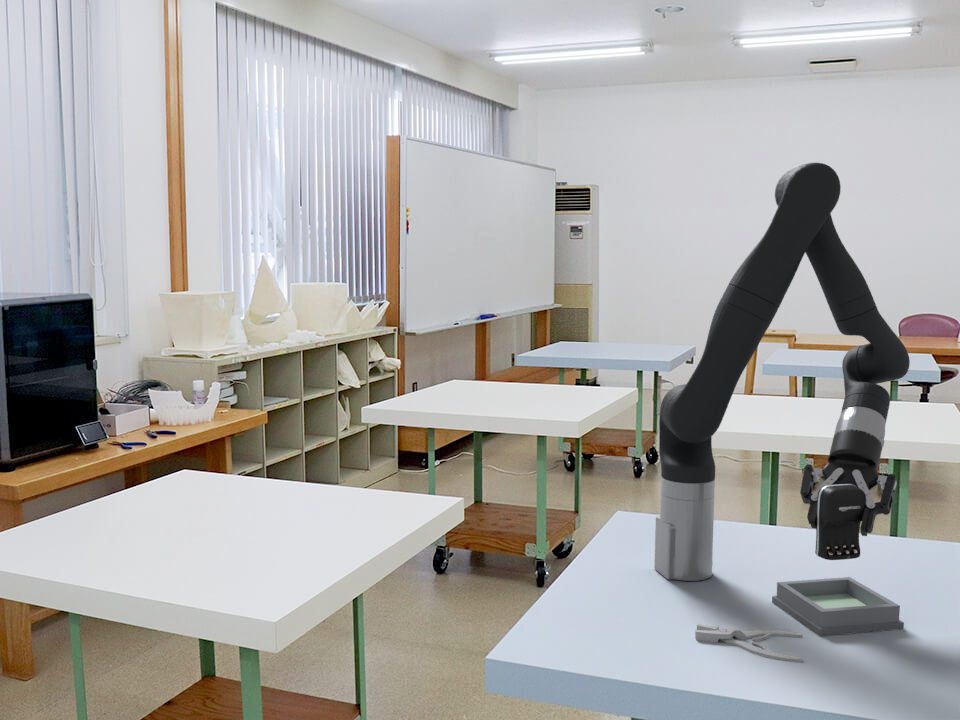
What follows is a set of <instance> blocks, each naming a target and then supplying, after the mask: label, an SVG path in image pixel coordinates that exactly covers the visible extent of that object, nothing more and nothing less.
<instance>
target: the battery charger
mask: <svg viewBox="0 0 960 720" xmlns="http://www.w3.org/2000/svg"><path fill="white" fill-rule="evenodd" d="M864 509H866V495H865V493H864V491H863V490H862V489H860V488H858V487H856V486H855V485H852V484H835V485H826V486H823V487H822V488H821V489H820V490H819V492H818V496H817V508H816V529H815V531H816V532H815V534H816V535H815V537H816V538H815V550H814V551H815V555H816V556H817V557H818V558H821V559H824V560H827V561H839V560H841V561H842V560H851V559H858V558H860V557H861V548H860V528H861V523H862V518H863V513H864Z"/></svg>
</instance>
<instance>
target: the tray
mask: <svg viewBox="0 0 960 720" xmlns="http://www.w3.org/2000/svg"><path fill="white" fill-rule="evenodd" d="M771 602H772V603H771V604H773V605H775V606H777V608H779V609H781V610H782V611H783V612H785V613H786V614H788V615H789V616H790V617H791V618H793V619H795V620H796V621H797V622H799V623H800V624H802V625H803V626H804V627H806V628H807V629H808V630H810V631H812V632H813V633H815V634H816V635H817V636H818V637H822V636H823V637H824V636H825V637H826V636H838V634H839V635H849V633H851V634H860V633H861V632H863V633H871V632H870V631H875V632H882V631H881V630H887V631H893V630H892V629H898V630H904V629H905V628H904V627H905V622H904V621H902V620H901V619H900V610H901V609H900V608H901V606H900V605H899V604H898V603H896V602H894V601H892V600H891V599H889V598H888V597H886V596H884V595H882V594H880V593H879V592H877V591H875V590H873V589H872V588H870V587H868V586H866V585H864V584H862V582H859V581H857V580H856V579H854V578H852V577H850V576H847V577H845V576H844V577H833V578H818V579H806V580H805V579H804V580H790V581H789V580H788V581H777V583H776V595H772V596H771Z"/></svg>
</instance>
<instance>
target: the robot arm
mask: <svg viewBox="0 0 960 720" xmlns="http://www.w3.org/2000/svg"><path fill="white" fill-rule="evenodd" d="M840 195H841V182H840V178H839V176H838V174H837V172H836V171H835V169H833V167H831V166H830V165H828V164H826V163H822V162H808V163H805V164H804V163H803V164H801V165H799V166H797V167H794V168H792V169H789V170H788V171H786V172H785V173H784V174H783V175H782V176H780V178H779V179H778V181H777V183H776V186H775V191H774V199H775V203H776V205H777V209H776V211H775V213H774V215H773V217H772V220H771V222H770V223H769V226H768V228H767V230H766V231H765V233H764V235H763V236H762V237H761V239H760V240H759V241H758V243H757V244H756V246H754V248H753V249H752V250H751V252H750V253H749V254H748V255H747V257H746V258H745V259H744V261H743V262H742V263H741V264H740V266H738V268H737V270H736V271H735V273H734V275H733V276H732V278H731V279H730V280H729V282H728V284H727V287H726V288H725V290H724V292H723V295H722V296H721V298H720V300H719V302H718V304H717V306H716V309H715V311H714V313H713V316H712V318H711V319H712V320H711V323H710V326H709V329H708V334H707V337H706V338H707V339H706V343H705V347H704V349H703V353H702V355H701V358H700V361H699V362H698V364H697V365H696V368H695V370H694V371H693V372H692V375H691V376H690V378H689V379H688V381H687V382H686V384H684V383H683V384H680V385H676V386H674V387H672V388H671V389H670V390H669V391H667V392H666V394H665V395H664V397H663V399H662V401H661V404H660V407H659V408H660V409H659V423H658V425H659V431H658V434H659V437H658V438H659V439H658V441H659V444H658V447H659V448H658V449H659V451H658V453H659V460H660V469H661V470H660V471H661V472H660V476H661V477H660V507H659V510H660V512H659V516H656V517H655V529H654V530H655V533H654V534H655V537H654V570H656V571H657V572H658V573H659V574H661V575H662V576H663V577H664V578H665V579H666V580H678V581H686V582H693V581H694V582H698V581H704V580H707V579H709V578H711V577H712V575H713V565H714V564H713V554H714V553H713V552H714V550H713V549H714V546H713V545H714V521H715V518H714V517H715V492H716V491H715V489H716V463H715V460H714V455H713V447H712V436H714V434H715V433H716V432H717V431H718V430H719V428H720V426H721V424H722V421H723V420H724V417H725V414H726V411H727V409H728V406H729V404H730V401H731V399H732V396H733V395H734V391H735V389H736V387H737V384H738V382H739V380H740V377H741V376H742V374H743V372H744V371H745V369H746V368H747V366H748V364H749V362H750V361H751V359H752V357H753V356H754V354H755V352H756V350H757V348H758V346H759V344H760V343H761V341H762V339H763V337H764V336H765V334H766V333H767V330H768V329H769V327H770V325H771V323H772V322H773V320H774V319H775V316H776V314H777V313H778V310H779V308H780V306H781V305H782V302H783V300H784V297H785V295H786V294H787V293H788V289H789V287H791V283H792V282H793V280H794V278H795V275H796V273H797V271H798V269H799V267H800V264H801V262H802V260H803V257H804V256H805V254H806V256H807V259H808V261H809V263H810V265H811V267H812V269H813V271H814V273H815V276H816V278H817V280H818V283H819V285H820V288H821V290H822V292H823V295H824V297H825V300H826V302H827V305H828V307H829V311H830V312H831V315H832V317H833V320H834V322H835V325H836V327H837V329H838V331H839V332H840V333H841V335H844V336H856V337H857V336H858V337H862V338H864V339H865V340H866V341H867V342H868V343H865V344H862V345H858V346H853V347H852V348H851V349H849V350H848V351H847V352H846V354H845V355H844V357H843V359H842V362H841V363H842V368H841V369H842V375H843V383H844V399H843V403H842V407H841V412H840V416H839V418H838V420H837V423H836V426H835V430H834V434H833V438H832V442H831V446H830V450H829V455H828V460H827V463H826V465H825V466H824V467H822V468H821V467H820V468H819V467H814V466H813V465H812V464H811V463H808V464H806V465H805V466H804V469H803V475H802V481H801V486H800V492H799V493H800V496H801V501H802V502H803V504H806V505H809V508H808V512H807V516H806V518H807V521H808V525H810V528H812V529H815V530H816V508H817V496H818V492H819V490H820V489H821V488H822V487H823V486H826V485H835V484H852V485H855V486H856V487H858V488H860V489H862V490H863V491H864V493H865V495H866V509H864V513H863V518H862V521H861V523H860V530H859V532H860V534H861V537H867V536H868V534H871V533H872V532H873V530H874V525H875V520H876V517H877V515H881V514H882V515H885V516H886V515H889V514H890V513H891V511H892V510H891V509H892V506H893V504H894V498H895V496H896V492H897V488H898V483H897V478H896V475H895V474H893V473H889V474H888V475H882V474H881V475H880V474H879V473H878V470H879V465H880V461H881V456H882V455H881V454H882V451H883V448H884V444H885V435H886V423H887V419H888V414H889V409H890V404H891V403H890V402H891V398H890V397H891V396H890V393H889V392H888V390H887V389H886V388H885V387H883V386H882V385H879V384H881V383H887V382H892V381H895V380H899V379H902V378H904V377H905V376H906V375H907V373H908V372H909V369H910V365H911V364H910V356H909V353H908V349H907V348H906V346H905V344H904V343H903V342H902V340H901V339H900V338H899V337H898V335H897V334H896V333H895V332H894V331H893V329H892V328H891V327H890V325H889V323H887V321H886V320H885V318H884V317H883V316H882V315H881V313H880V312H879V310H878V307H877V304H876V302H875V299H874V297H873V295H872V292H871V289H870V288H869V285H868V284H867V281H866V279H865V277H864V275H863V273H862V271H861V270H860V268H859V266H858V265H857V263H856V262H855V261H854V259H853V258H852V256H851V254H850V253H849V252H848V250H847V249H846V247H845V246H844V244H843V242H842V240H841V238H840V236H839V234H838V232H837V229H836V226H835V225H834V221H833V216H832V212H833V210H834V209H835V208H836V206H837V204H838V202H839V200H840V199H839V198H840V197H841V196H840ZM821 477H823V478H824V481H823V482H822V483H821V484H820V485H819V488H818V489H817V490H816V491H815V492H814V493H813V489H814V483H817V482H818V480H819V479H820V478H821ZM878 484H879V485H880V487H881V490H882V494H881V497H880V501H877V502H875V501H874V499H873V497H872V495H871V492H870V491H871V489H874V487H876V486H877V485H878Z"/></svg>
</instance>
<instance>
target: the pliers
mask: <svg viewBox="0 0 960 720" xmlns="http://www.w3.org/2000/svg"><path fill="white" fill-rule="evenodd" d="M770 637H791V638H803V637H804V636H803V633H799V632H793V631H792V632H791V631H785V630H772V629H771V630H770V629H767V630H766V629H764V630H763V629H761V630H759V629H758V630H748V631H742V630H740V629H738V628H737V627H725V628H722V627H721V628H720V627H719V626H717V625H709V624H703V623H697V624H696V629H695V631H694V639H695V641H703V642H710V643H711V642H713V643H718V642H719V641H721V642H724V643H725V644H728V645H732V646H733V645H734V646H736V647H739V648H740V649H742V650H745V651H747V652H749V653H752V654H755V655H759V656H762V657H766V658H770V659H775V660H781V661H788V662H797V663H798V662H800V663H803V662H804V657H798V656H793V655H789V654H787V655H786V654H783V653H782V654H781V653H779V652H778V653H777V652H774V651H770V650H769V649H768V648H767V647H766V646H764V645H763V644H761V643H758V641H759V642H760V641H762V640H767V639H768V638H770ZM734 638H736V639H734ZM739 639H740V640H739ZM741 639H742V640H743V639H744V640H745V639H747V640H748V639H751V640H752V641H751V644H750V643H748V642H746V641H742V640H741Z"/></svg>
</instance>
